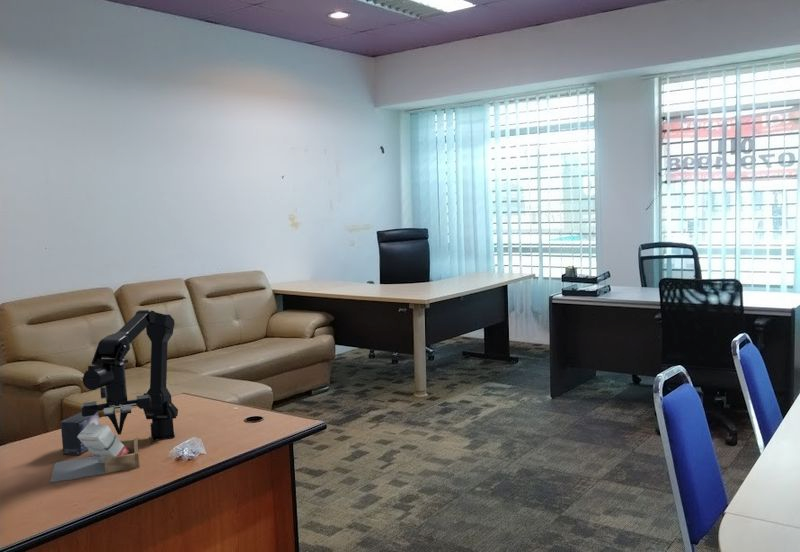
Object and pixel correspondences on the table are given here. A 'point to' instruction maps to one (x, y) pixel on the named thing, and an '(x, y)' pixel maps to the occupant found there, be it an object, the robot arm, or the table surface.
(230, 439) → the table surface
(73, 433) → the small box
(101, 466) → the felt pad
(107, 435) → the ink box
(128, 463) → the corral
